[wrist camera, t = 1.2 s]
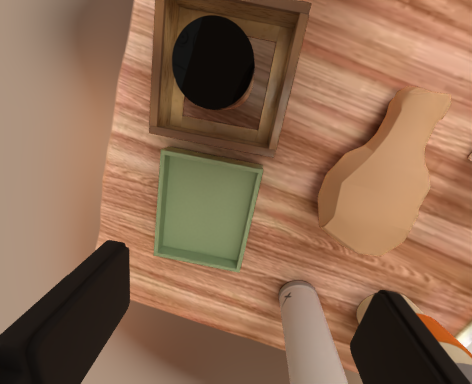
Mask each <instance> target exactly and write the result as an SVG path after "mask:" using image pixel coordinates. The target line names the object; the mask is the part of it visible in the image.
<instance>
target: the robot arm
mask: <svg viewBox="0 0 472 384" xmlns="http://www.w3.org/2000/svg"><path fill="white" fill-rule="evenodd" d="M129 303H130V269H129V248H128V247H126V246H125V243H123V242H117V241H112V240H107V241H106V242H105V243H104V244H102V245H101V246H100V247H99V248H98V249H97V250H96V251H95V252H94V253H92V255H90V256H89V257H88V258H87V259H86V260H85V261H83V262H82V263H81V264H80V265H79V266H78V267H77V268H76V269H75V270H74V271H72V272H71V273H70V274H69V275H67V276H66V277H65V278H63V279H62V280H61V281H60V282H59V283H58V284H57V285H56V286H55V287H53V288H52V289H51V290H50V291H49V292H48V293H47V294H46V295H44V297H42V298H41V299H40V300H39V301H38V302H37V303H36V304H34V305H33V306H32V307H31V308H30V309H29V310H28V311H26V312H25V313H24V314H23V315H22V316H21V317H20V318H19V319H17V320H16V321H15V322H14V323H13V324H12V325H11V326H10V327H8V328H7V329H6V330H5V331H4V332H3V333H2V334H1V335H0V384H81V382H82V380H83V379H84V377H85V376H86V374H87V373H88V371H89V369H90V368H91V366H92V365H93V363H94V362H95V360H96V358H97V357H98V355H99V353H100V352H101V350H102V349H103V347H104V346H105V344H106V343H107V341H108V339H109V338H110V336H111V335H112V333H113V331H114V330H115V328H116V327H117V325H118V324H119V322H120V320H121V319H122V317H123V315H124V314H125V313H126V311H127V309H128V306H129ZM350 350H351V354H352V357H353V359H354V362H355V364H356V367H357V369H358V372H359V374H360V377H361V379H362V382H363V384H471V383H470V381H469V380H468V379H467V378H466V376H465V375H464V374H463V372H462V371H461V370H460V369H459V367H458V366H457V365H456V364H455V362H454V361H453V360H452V358H451V357H450V356H449V355H448V353H447V352H446V351H445V350H444V348H443V347H442V346H441V344H440V343H439V342H438V341H437V339H436V338H435V337H434V336H433V334H432V333H431V332H430V330H429V329H428V328H427V327H426V325H425V324H424V323H423V322H422V320H421V319H420V318H419V316H418V315H417V314H416V313H415V311H414V310H413V309H412V308H411V306H410V305H409V304H408V303H407V301H406V300H405V299H404V297H403V296H402V295H401V294H399V293H397V292H392V291H386V290H380V291H379V292H378V293H375V294H374V295H373V297H372V299H371V301H370V303H369V305H368V307H367V310H366V312H365V314H364V316H363V318H362V320H361V322H360V324H359V326H358V328H357V330H356V332H355V334H354V336H353V338H352V340H351V343H350Z"/></svg>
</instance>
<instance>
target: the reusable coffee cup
mask: <svg viewBox="0 0 472 384" xmlns="http://www.w3.org/2000/svg"><path fill="white" fill-rule="evenodd" d="M399 294H400V293H399ZM373 295H374V294H373ZM373 295H370V296H369V297H367V298H366V299H364V300H363V301H362V302H361V303H360V305H359V306H358V309H357V312H356V316H357V320H358V323H359V324H360V322H361V320H362V318H363V316H364V314H365V312H366V310H367V307H368V305H369V303H370V301H371V299H372V297H373ZM401 295H402V296H403V297H404V299H405V300H406V301H407V303H408V304H409V305H410V306H411V308H412V309H413V310H414V311H415V313H416V314H417V315H418V316H419V318H420V319H421V320H422V322H423V323H424V324H425V325H426V327H427V328H428V329H429V330H430V332H431V333H432V334H433V336H434V337H435V338H436V339H437V341H438V342H439V343H440V344H441V346H442V347H443V348H444V350H445V351H446V352H447V353H448V355H449V356H450V357H451V358H452V360H453V361H454V362H455V364H456V365H457V366H458V367H459V369H460V370H461V371H462V372H463V374H464V375H465V376H466V378H467V379H468V380H469V381H470V383H471V384H472V354H471V353H470V352H469V351H468V350H467V349H466V348H465V347H464V346H463V345H462V344H461V343H460V342H459V341H458V340H456V339H455V338H454V337H453V336H452V335H451V334H450V333H449V332H448V331H447V330H446V329H445V328H443V327H442V326H441V325H440V324H439V323H438V322H437V321H436V320H434V319H433V318H431V317H429V316H426V315H425V314H424V313H423V312H422V311H421V310H420V309H419V308H418V307H417V306H416V305H415V304H414V303H413V302H411V301H410V300H409V299H408V298H407V297H406V296H404V295H403V294H401Z"/></svg>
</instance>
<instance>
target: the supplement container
mask: <svg viewBox="0 0 472 384" xmlns="http://www.w3.org/2000/svg"><path fill="white" fill-rule="evenodd" d="M172 70H173V74H174V78H175V81H176V83H177V85H178V87H179V89H180V90H181V92H182V93H183V94H184V96H185V97H186V98H187V99H188V100H190V101H191V102H192V103H194V104H195V105H197V106H199V107H202V108H206V109H211V110H222V109H224V110H229V109H234V108H237V107H239V106H240V105H242V104H243V103H244V102H245V101H246V100H247V99H248V97H249V96H250V94H251V92H252V89H253V84H254V71H255V62H254V54H253V49H252V46H251V43H250V41H249V39H248V37H247V35H246V34H245V33H244V31H243V30H242V29H241V28H240V27H239V26H238V25H237V24H236V23H234V22H233V21H231V20H229V19H227V18H225V17H222V16H217V15H208V16H203V17H200V18H197V19H195V20H193V21H192V22H190V23H189V24H188V25H187V26H186V27H185V28H184V29H183V30H182V31H181V33H180V34H179V36H178V38H177V40H176V42H175V45H174V48H173V53H172Z"/></svg>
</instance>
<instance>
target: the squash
mask: <svg viewBox="0 0 472 384" xmlns="http://www.w3.org/2000/svg"><path fill="white" fill-rule="evenodd" d="M450 105H451V94H445V93H438V92H432V91H429V90H426V89H423V88H420V87H415V86H407V87H405V88H403V89H401V90H400V91H398V92H397V93H396V95H395V97H394V98H393V99H392V100H391V101H390V103H389V106H388V110H387V115H386V116H385V118H384V120H383V122H382V124H381V126H380V127H379V129H378V131H377V133H376V135H374V136H373V137H372V138H371V139H370V140H369V141H368V142H367V143H366V144H365V145H364V146H362V147H359V148H357V149H355V150H352V151H350V152H347V153H346V154H345V155H344V156H343V157H342V158H341V159H340V160H339V161H338V162H337V163H336V164H335V165H334V167H333V168H332V169H331V170H330V171H329V172H328V173H327V174H326V176H325V178H324V181H323V184H322V186H321V189H320V191H319V194H318V213H319V226H320V228H321V229H322V230H324V231H325V232H326V233H327V234H328V235H329V236H331V237H332V238H333V239H334V240H335V241H337V242H338V243H339V244H340V245H341V246H343V247H345V248H347V249H349V250H352V251H354V252H356V253H358V254H364V255H372V256H380V257H381V256H383V255H384V254H386V253H387V252H389V251H390V250H392V249H393V248H395V247H397V246H398V245H400V244H401V243H403V242H404V240H405V239H406V237H407V235H408V233H409V232H410V230H411V228H412V226H413V224H414V222H415V221H416V219H417V217H418V209H419V207H420V206H421V204H422V202H423V200H424V198H425V196H426V195H427V193H428V191H429V189H430V176H429V171H428V169H427V167H426V165H425V146H426V144H427V142H428V140H429V138H430V136H431V134H432V132H433V129H434V127H435V125H436V123H437V122H438V121H439V120H441V119H443V117H444V116H445V114H446V112H447V110H448V109H449V107H450Z"/></svg>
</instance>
